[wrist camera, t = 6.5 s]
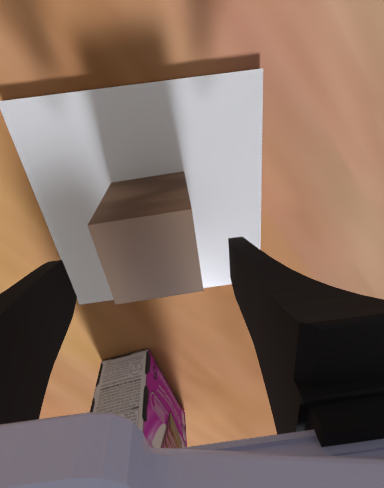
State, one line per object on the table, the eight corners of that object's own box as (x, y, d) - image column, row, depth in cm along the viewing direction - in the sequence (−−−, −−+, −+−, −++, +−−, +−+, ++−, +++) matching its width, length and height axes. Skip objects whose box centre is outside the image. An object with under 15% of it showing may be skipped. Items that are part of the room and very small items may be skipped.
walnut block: (184, 171, 17) (191, 209, 12) (193, 235, 20) (203, 290, 14) (111, 182, 17) (87, 225, 12) (129, 245, 20) (115, 304, 14)
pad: (259, 68, 15) (263, 68, 15) (257, 275, 22) (260, 280, 22) (2, 100, 15) (-3, 101, 15) (81, 299, 22) (79, 304, 22)
